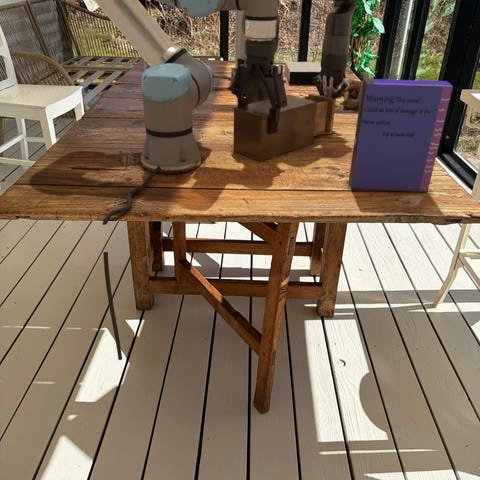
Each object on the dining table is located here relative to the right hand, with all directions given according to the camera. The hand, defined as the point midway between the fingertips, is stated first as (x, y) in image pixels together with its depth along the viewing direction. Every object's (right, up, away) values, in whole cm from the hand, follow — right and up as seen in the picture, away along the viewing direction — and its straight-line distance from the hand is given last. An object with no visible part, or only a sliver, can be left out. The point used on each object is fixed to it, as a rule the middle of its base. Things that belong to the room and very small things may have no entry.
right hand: (328, 111), depth 145 cm
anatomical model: (+14, +10, +28) cm, 33 cm away
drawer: (-8, -8, -4) cm, 12 cm away
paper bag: (-21, +37, +73) cm, 84 cm away
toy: (-54, +36, +69) cm, 95 cm away
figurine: (-24, +22, +47) cm, 57 cm away
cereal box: (+8, -27, -33) cm, 43 cm away
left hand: (-22, -9, -18) cm, 30 cm away
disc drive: (+2, +31, +63) cm, 71 cm away
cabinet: (-17, -13, -11) cm, 24 cm away
